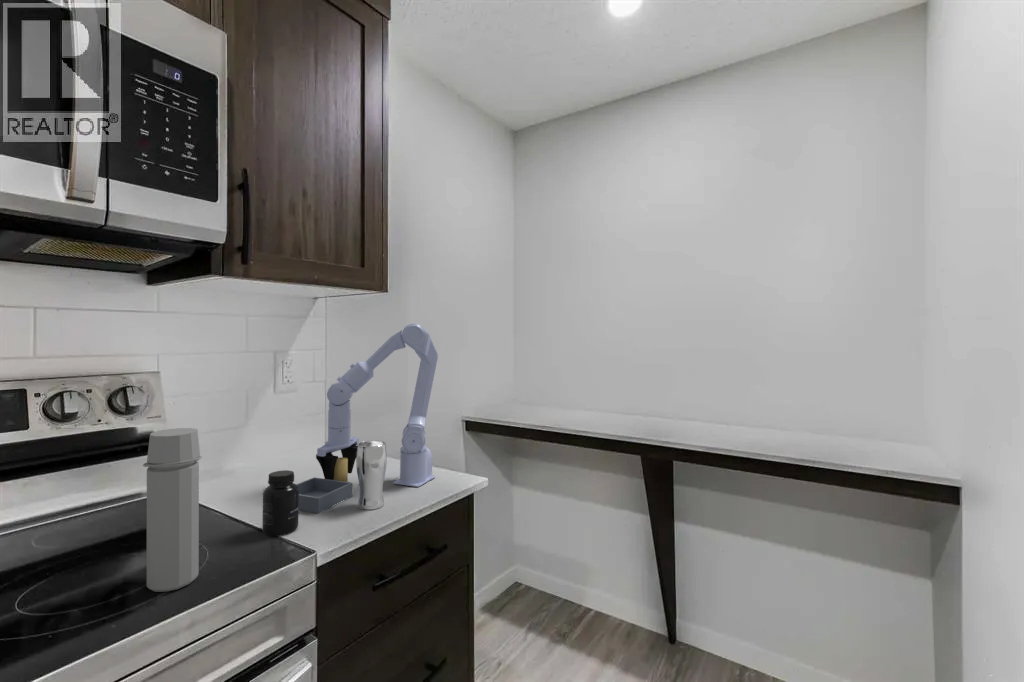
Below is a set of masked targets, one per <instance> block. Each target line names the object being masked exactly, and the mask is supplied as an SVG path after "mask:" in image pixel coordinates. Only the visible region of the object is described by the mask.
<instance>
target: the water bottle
mask: <svg viewBox="0 0 1024 682" xmlns="http://www.w3.org/2000/svg"><path fill="white" fill-rule="evenodd" d="M148 441H149V442H148V449H147V456H146V462H144V463H143V464H142V466H143V467H144V468H147V469H146V588H147V589H148V590H150V591H152V592H154V593H155V592H157V593H159V592H160V593H162V592H164V593H166V592H172V591H175V590H179V589H181V588H185V587H186V586H188V585H190V584H191V583H192V582H193V581H195V580H196V579H197V578H198V576H199V572H200V571H199V570H200V569H199V566H200V565H199V561H200V558H199V554H200V553H199V546H200V545H199V544H200V543H199V541H200V540H199V538H200V537H199V536H200V535H199V534H200V533H199V532H200V531H199V527H200V526H199V525H200V522H199V521H200V517H199V515H200V511H199V509H200V507H199V506H200V505H199V504H200V502H199V501H200V491H199V490H200V482H199V481H200V473H199V472H200V461H199V460H201V459H202V458H203V456H202V455H201V451H200V450H201V449H200V441H199V433H198V429H197V428H192V427H190V428H189V427H180V428H179V427H178V428H168V429H167V428H166V429H161V430H157V431H153V432H151V433H150V434H149V439H148Z"/></svg>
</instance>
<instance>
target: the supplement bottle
mask: <svg viewBox="0 0 1024 682" xmlns="http://www.w3.org/2000/svg"><path fill="white" fill-rule="evenodd" d="M294 482H295V473H294V471H292V470H290V469H289V470H286V469H285V470H276V471H273V472H270V473H269V474H268V480H267V484H268V486H267V487H265V488H264V489H263V492H262V519H261V520H262V523H261V525H262V533H263V534H264V535H266V536H270V537H271V536H272V537H278V536H279V537H280V536H285V535H289V534H291V533H293V532H295V531H296V530H297V529H298V527H299V512H300V510H299V488H298V486H297V485H296V484H297V483H294ZM288 533H289V534H288ZM284 534H285V535H284Z"/></svg>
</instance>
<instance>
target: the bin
mask: <svg viewBox="0 0 1024 682" xmlns="http://www.w3.org/2000/svg"><path fill="white" fill-rule="evenodd" d="M295 484H296V485H297V486H298V488H299V511H301V510H303V512H308V513H312V512H314V514H318V513H319V514H321V513H323V512H325V511H326V509H327V510H329V509H330V507H331V508H333V507H334V506H333V505H335V504H337V503H339V502H341V501H343V500H345V501H347V500H348V499H347V498H349V499H351V498H352V497H353V482H349V481H348V482H343V481H336V480H329V479H325V478H320V477H312V478H309V479H307V480H303V481H302V482H299V483H295ZM350 497H351V498H350ZM346 499H347V500H346ZM343 502H344V501H343ZM341 503H342V502H341ZM339 504H340V503H339ZM337 505H338V504H337ZM332 506H333V507H332ZM335 506H336V505H335ZM328 508H329V509H328ZM324 510H325V511H324ZM322 511H323V512H322ZM320 512H321V513H320Z"/></svg>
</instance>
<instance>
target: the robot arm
mask: <svg viewBox="0 0 1024 682" xmlns="http://www.w3.org/2000/svg"><path fill="white" fill-rule="evenodd" d="M406 345H407V346H408V347H409V348H411V349H412V350H414V352H415V353H416V355H417V356H418V358H420V361H419V367H418V372H417V377H416V384H415V387H414V392H413V398H412V403H411V408H410V412H409V417H408V421H407V424H406V425H405V427H404V428H403V431H402V438H401V445H402V447H400V451H399V453H400V455H399V456H400V457H399V459H400V460H399V464H400V465H399V467H400V468H399V479H397V480H394V481H393V484H394V485H401V486H407V487H413V488H419V487H421V486H423V485H425V484H426V483H428V482H429V481H431V480H432V479H435V477H436V476H435V475H433V454H432V453H433V452H431V449H430V448H428V447H427V446H426V445H425V444H426V436H425V435H426V432H425V427H426V420H427V414H428V409H429V404H430V400H431V394H432V389H433V385H434V383H433V382H434V378H435V375H436V374H435V373H436V369H437V363H438V358H439V354H438V351H437V348H436V347H435V345H434V342H433V340H432V337H431V335H430V334H429V333H428V331H427V330H426V329H425V328H424V327H423V326H422V325H421V324H419V323H409V324H407V325H406V326H405V327H403V329H401V330H399V331H398V332H396V333H394V334H393V335H392V336H390V337H389V338H388V339H387V340H386V341H385V342H384V343H383V344H382V345H381V346H380V347H379V348H377V350H376V351H374V353H373V354H372V355H371V356H369V358H367V360H366V361H365V360H364V361H357V362H356V363H354V362H353V363H352V364H350V366H349V367H350V368H349V370H347V371H346V372H345V373H344V374H343V375H342V376H338V378H336V381H337V382H334V383H332V384H331V385H330V387H329V388H328V390H327V393H326V397H327V398H326V399H327V400H328V411H327V412H328V414H327V415H328V416H327V426H328V427H327V441H325V444H324V445H322V446H321V447H317V449H316V454H315V459H316V461H317V462H318V463H319V465H320V468H321V470H322V472H323V473H322V474H323V477H324V478H323V479H329V480H333V479H334V470H335V464H336V461H337V458H339V456H338V455H334V454H333V453H335V452H339V451H340V452H341V455H342V457H343V458H347V459H348V474H352V472H353V469H354V466H355V463H356V458H357V446H358V445H357V444H358V443H360V437H357V436H355V437H354V436H353V437H351V428H352V427H351V424H352V422H351V420H352V419H351V418H352V417H351V414H352V413H351V412H352V409H351V400H350V399H352V397H353V394H354V393H358V391H360V390H361V389H362V388H363V387H364V386H365V385H366V384H367V383H368V382H370V381H371V379H372V378H373V377H374V370H375V369H376V368H377V367H378V366H379V365H380V364H382V362H384V361H385V360H386V359H387V358H388V357H389V356H390V355H391V354H392V353H394V352H395V351H398V350H401V349H405V348H406Z"/></svg>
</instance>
